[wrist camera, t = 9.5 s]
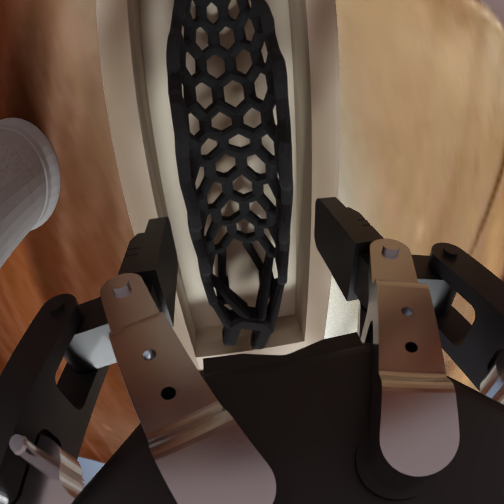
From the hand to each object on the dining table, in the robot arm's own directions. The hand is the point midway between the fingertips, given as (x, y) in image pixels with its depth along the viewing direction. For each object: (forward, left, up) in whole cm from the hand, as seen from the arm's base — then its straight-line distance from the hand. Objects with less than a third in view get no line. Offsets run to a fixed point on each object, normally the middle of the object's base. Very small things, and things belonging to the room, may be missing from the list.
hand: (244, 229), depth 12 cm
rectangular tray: (0, 0, -8) cm, 8 cm away
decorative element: (0, 0, -7) cm, 7 cm away
